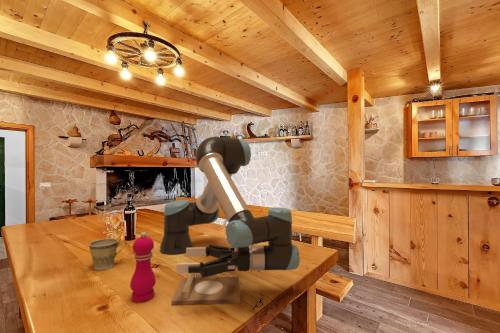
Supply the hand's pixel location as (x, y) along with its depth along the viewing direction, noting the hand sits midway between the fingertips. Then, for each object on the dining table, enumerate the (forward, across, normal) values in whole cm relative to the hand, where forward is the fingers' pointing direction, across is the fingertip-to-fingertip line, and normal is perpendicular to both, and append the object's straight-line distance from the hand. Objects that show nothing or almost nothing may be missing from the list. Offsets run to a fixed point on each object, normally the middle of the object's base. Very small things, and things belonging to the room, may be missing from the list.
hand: (181, 259), depth 76 cm
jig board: (-8, +2, -11) cm, 14 cm away
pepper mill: (+12, 0, -12) cm, 16 cm away
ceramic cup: (+34, +25, -11) cm, 44 cm away
